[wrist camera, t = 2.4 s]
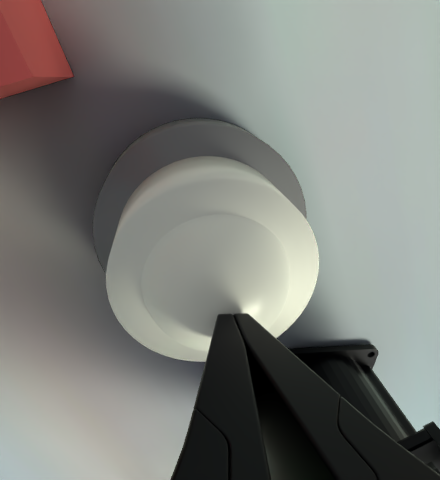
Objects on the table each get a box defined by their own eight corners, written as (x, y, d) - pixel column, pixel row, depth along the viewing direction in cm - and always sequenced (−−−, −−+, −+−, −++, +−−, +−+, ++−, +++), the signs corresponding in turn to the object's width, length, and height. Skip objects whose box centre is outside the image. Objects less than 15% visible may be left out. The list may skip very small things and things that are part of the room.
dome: (302, 160, 12) (380, 206, 8) (274, 308, 16) (319, 400, 11) (112, 150, 11) (80, 199, 7) (121, 313, 14) (103, 419, 10)
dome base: (305, 125, 15) (326, 133, 13) (273, 291, 19) (287, 317, 17) (93, 110, 13) (81, 116, 11) (108, 295, 17) (101, 324, 15)
